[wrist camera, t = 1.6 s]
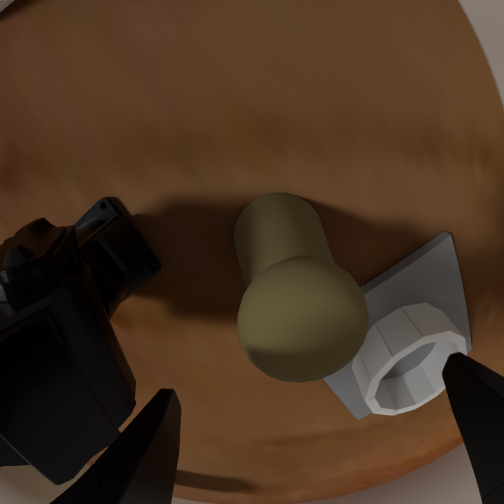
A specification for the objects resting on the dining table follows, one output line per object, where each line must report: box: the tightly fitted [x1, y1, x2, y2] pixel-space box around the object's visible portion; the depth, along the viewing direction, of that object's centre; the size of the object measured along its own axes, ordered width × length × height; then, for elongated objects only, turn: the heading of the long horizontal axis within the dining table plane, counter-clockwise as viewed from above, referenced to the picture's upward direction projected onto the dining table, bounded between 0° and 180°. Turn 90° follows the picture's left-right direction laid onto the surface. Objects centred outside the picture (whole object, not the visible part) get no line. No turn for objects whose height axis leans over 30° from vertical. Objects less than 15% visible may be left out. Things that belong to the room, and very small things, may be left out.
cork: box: [233, 193, 369, 383], centre depth 15 cm, size 6×6×11 cm
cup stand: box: [323, 231, 472, 420], centre depth 22 cm, size 15×16×5 cm
